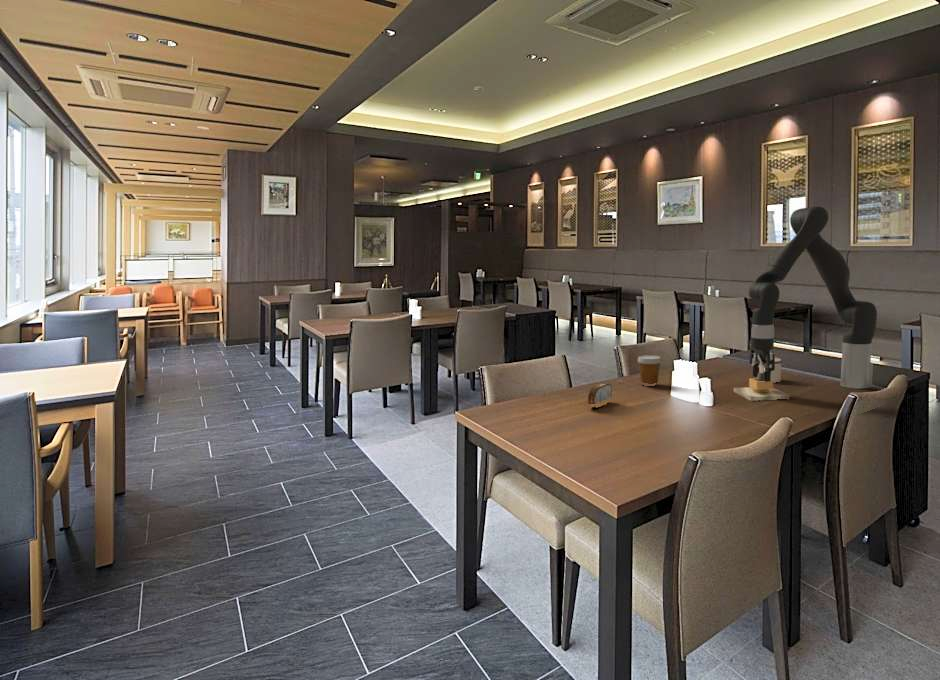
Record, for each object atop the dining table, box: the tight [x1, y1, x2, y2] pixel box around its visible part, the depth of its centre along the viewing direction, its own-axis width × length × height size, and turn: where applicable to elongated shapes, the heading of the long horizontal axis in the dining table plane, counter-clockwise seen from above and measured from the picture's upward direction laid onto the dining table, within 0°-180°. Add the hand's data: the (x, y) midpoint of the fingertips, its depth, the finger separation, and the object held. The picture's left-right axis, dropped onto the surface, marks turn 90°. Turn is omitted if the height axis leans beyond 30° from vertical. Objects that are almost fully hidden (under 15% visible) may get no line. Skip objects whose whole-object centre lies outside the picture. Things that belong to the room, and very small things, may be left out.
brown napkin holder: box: [587, 381, 613, 404], centre depth 207 cm, size 15×3×8 cm, turn 141°
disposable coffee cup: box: [637, 354, 662, 384], centre depth 235 cm, size 10×10×12 cm
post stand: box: [733, 373, 791, 402], centre depth 211 cm, size 14×14×8 cm
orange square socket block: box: [748, 377, 774, 390], centre depth 211 cm, size 6×6×3 cm
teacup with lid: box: [756, 352, 783, 384], centre depth 234 cm, size 12×9×12 cm
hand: (761, 378), depth 211 cm, fingers open, 8 cm apart
